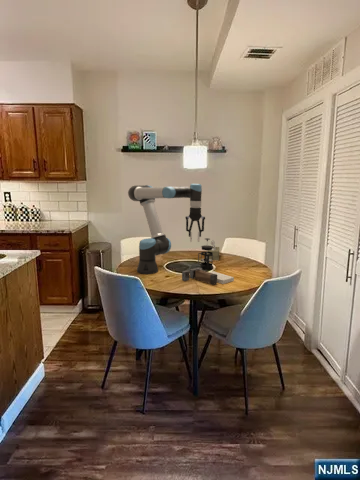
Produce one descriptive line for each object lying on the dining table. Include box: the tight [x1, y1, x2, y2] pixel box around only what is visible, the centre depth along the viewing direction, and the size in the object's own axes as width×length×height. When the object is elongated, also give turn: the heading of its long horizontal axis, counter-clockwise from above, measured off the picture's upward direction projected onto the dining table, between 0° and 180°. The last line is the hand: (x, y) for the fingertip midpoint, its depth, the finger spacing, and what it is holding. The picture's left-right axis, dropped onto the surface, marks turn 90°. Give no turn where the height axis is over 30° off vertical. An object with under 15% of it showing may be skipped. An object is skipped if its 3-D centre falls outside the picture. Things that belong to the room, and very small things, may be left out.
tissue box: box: [207, 239, 220, 262], centre depth 278 cm, size 19×10×16 cm, turn 172°
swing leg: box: [195, 269, 218, 286], centre depth 212 cm, size 4×16×6 cm, turn 41°
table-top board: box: [208, 271, 235, 285], centre depth 218 cm, size 11×19×2 cm, turn 41°
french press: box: [197, 238, 214, 271], centre depth 243 cm, size 12×9×23 cm
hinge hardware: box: [181, 266, 203, 282], centre depth 218 cm, size 16×6×7 cm, turn 131°
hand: (194, 241), depth 219 cm, fingers open, 4 cm apart
